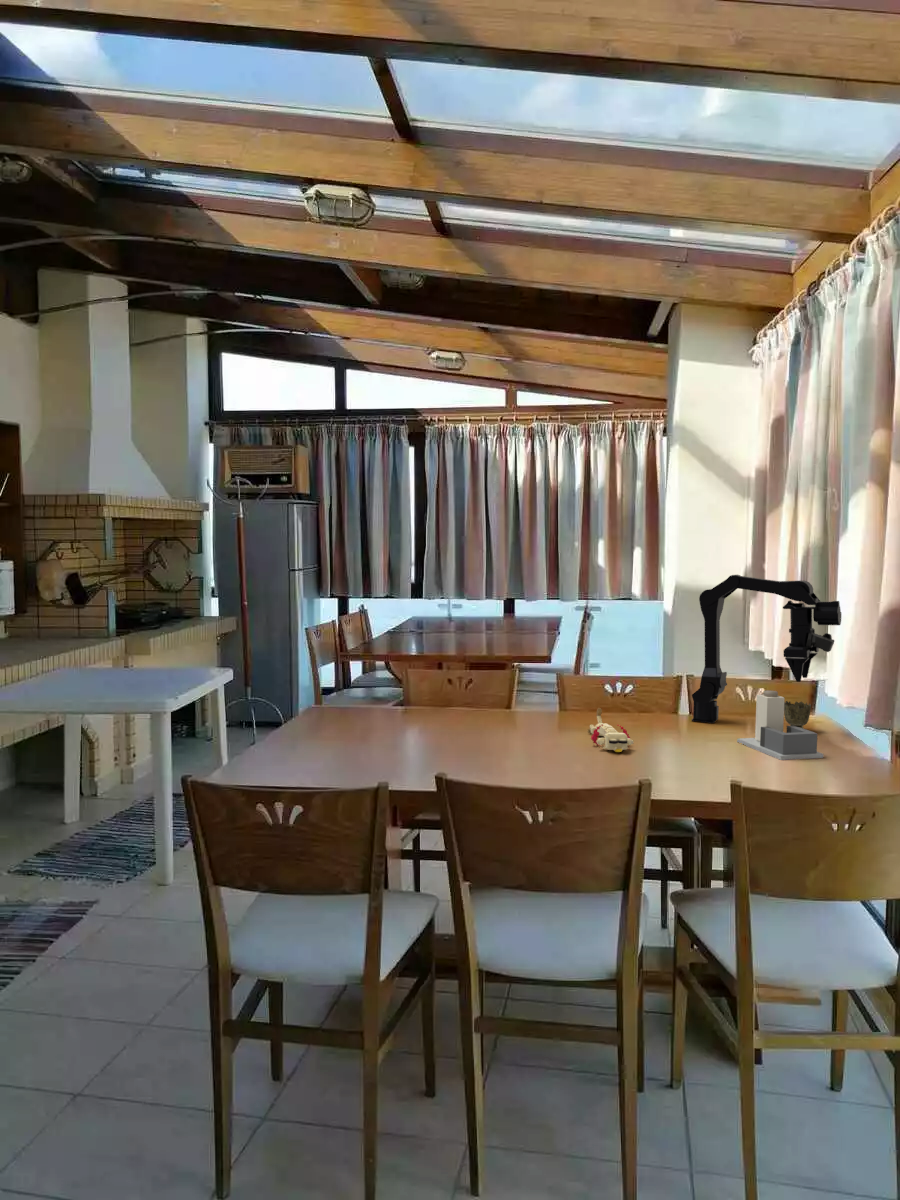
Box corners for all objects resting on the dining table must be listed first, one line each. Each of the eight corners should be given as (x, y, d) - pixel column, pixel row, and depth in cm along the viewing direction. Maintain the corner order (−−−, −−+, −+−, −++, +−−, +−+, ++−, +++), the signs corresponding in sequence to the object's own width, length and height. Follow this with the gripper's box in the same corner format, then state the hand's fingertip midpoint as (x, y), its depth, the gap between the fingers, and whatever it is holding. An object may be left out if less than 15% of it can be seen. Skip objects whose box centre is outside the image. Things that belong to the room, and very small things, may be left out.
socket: (737, 742, 243) (737, 720, 243) (776, 740, 246) (777, 718, 245) (780, 759, 224) (781, 735, 223) (823, 757, 226) (824, 734, 226)
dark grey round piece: (806, 728, 263) (807, 701, 262) (813, 733, 255) (814, 705, 255) (779, 727, 263) (780, 700, 263) (786, 732, 256) (787, 705, 255)
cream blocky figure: (580, 738, 251) (600, 752, 226) (580, 707, 252) (600, 717, 227) (615, 738, 252) (639, 752, 227) (615, 707, 252) (639, 717, 227)
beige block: (755, 739, 241) (756, 690, 240) (771, 738, 242) (773, 689, 241) (765, 743, 236) (767, 693, 235) (782, 742, 237) (784, 692, 236)
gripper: (825, 627, 244) (826, 685, 244) (837, 623, 259) (837, 677, 260) (782, 627, 249) (783, 683, 250) (796, 622, 265) (796, 675, 266)
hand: (801, 679), depth 256 cm, fingers open, 9 cm apart
